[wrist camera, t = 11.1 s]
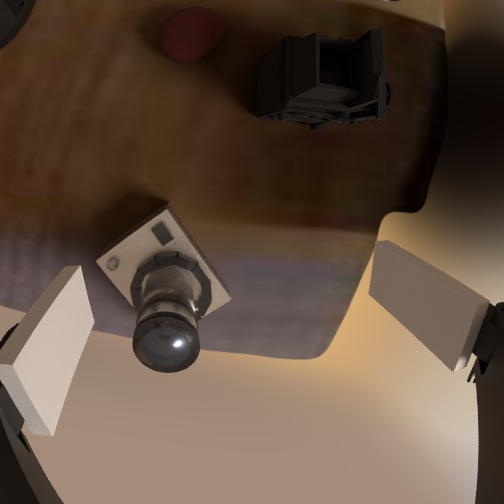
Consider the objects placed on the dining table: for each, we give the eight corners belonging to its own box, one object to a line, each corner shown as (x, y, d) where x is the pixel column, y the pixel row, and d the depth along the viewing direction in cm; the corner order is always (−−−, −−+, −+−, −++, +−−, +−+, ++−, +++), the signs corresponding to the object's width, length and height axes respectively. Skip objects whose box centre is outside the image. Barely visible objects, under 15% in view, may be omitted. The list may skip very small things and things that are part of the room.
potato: (149, 34, 31) (144, 17, 26) (206, 7, 31) (210, -12, 26) (174, 76, 34) (172, 65, 28) (232, 48, 34) (240, 34, 29)
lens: (148, 313, 38) (140, 375, 27) (141, 268, 36) (126, 321, 25) (198, 309, 40) (205, 370, 28) (193, 264, 37) (199, 315, 26)
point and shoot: (105, 248, 39) (93, 264, 34) (169, 201, 39) (166, 211, 34) (165, 321, 45) (163, 346, 39) (226, 283, 45) (233, 303, 39)
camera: (346, 135, 41) (448, 139, 22) (252, 126, 38) (311, 112, 20) (347, 69, 38) (446, 38, 19) (254, 55, 35) (311, -9, 16)
